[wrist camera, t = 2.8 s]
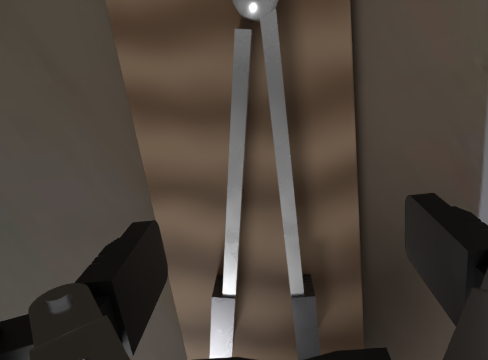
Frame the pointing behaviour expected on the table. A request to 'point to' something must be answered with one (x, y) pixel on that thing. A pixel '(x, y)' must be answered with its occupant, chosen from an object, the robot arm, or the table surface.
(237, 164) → the arm
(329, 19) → the board
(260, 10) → the arm
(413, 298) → the table surface
